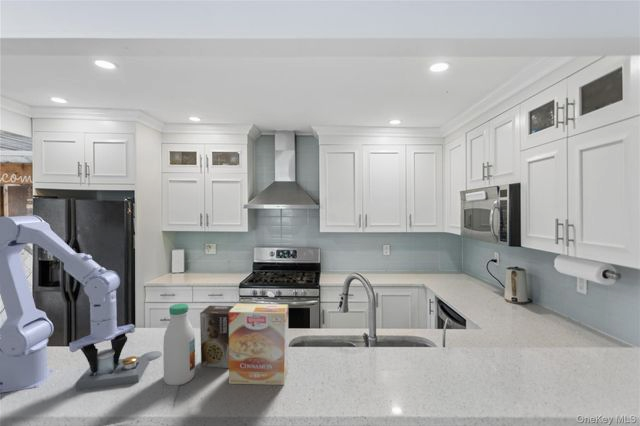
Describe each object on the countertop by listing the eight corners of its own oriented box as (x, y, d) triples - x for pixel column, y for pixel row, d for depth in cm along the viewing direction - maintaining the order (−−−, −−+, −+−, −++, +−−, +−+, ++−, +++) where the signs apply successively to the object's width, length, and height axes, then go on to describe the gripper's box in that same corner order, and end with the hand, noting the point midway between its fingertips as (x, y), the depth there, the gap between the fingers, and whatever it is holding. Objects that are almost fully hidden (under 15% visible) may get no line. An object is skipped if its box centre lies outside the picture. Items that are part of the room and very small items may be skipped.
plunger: (120, 376, 82) (120, 363, 81) (125, 369, 85) (125, 357, 85) (134, 374, 82) (134, 361, 82) (138, 368, 86) (138, 355, 86)
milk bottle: (183, 388, 78) (182, 312, 77) (157, 384, 79) (156, 309, 79) (200, 372, 85) (200, 302, 85) (176, 368, 87) (175, 300, 86)
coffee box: (238, 357, 94) (238, 305, 93) (230, 368, 87) (229, 313, 86) (210, 355, 94) (209, 304, 94) (199, 366, 88) (199, 312, 87)
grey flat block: (76, 392, 76) (75, 382, 76) (94, 370, 86) (94, 362, 86) (138, 383, 80) (138, 374, 80) (149, 363, 89) (149, 355, 89)
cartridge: (91, 377, 81) (91, 352, 81) (110, 369, 85) (110, 346, 85) (98, 383, 79) (98, 358, 79) (118, 375, 83) (117, 350, 82)
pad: (137, 363, 89) (137, 362, 89) (143, 353, 95) (143, 352, 95) (159, 360, 91) (159, 359, 91) (164, 351, 97) (164, 350, 97)
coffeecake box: (228, 384, 80) (227, 311, 79) (236, 369, 87) (236, 302, 86) (284, 386, 79) (284, 312, 78) (288, 370, 86) (288, 303, 86)
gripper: (76, 330, 73) (77, 385, 74) (139, 312, 85) (140, 359, 86) (65, 323, 77) (67, 375, 78) (127, 307, 89) (128, 352, 90)
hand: (104, 367), depth 82 cm, fingers closed on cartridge, 4 cm apart
